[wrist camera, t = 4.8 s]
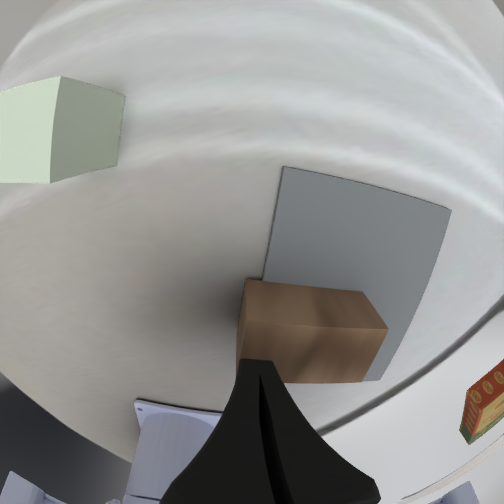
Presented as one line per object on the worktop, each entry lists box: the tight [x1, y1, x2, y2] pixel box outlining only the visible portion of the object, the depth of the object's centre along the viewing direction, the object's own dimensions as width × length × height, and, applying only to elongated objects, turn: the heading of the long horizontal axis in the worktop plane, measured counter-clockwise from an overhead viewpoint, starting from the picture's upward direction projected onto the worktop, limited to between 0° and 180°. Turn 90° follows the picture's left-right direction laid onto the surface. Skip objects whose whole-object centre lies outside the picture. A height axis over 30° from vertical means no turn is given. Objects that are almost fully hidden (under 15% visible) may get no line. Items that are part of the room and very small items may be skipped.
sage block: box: [0, 76, 125, 184], centre depth 9 cm, size 4×4×6 cm
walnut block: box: [236, 279, 389, 383], centre depth 14 cm, size 4×4×7 cm
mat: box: [262, 166, 452, 381], centre depth 16 cm, size 14×11×1 cm
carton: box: [459, 359, 504, 445], centre depth 23 cm, size 8×16×4 cm, turn 31°
